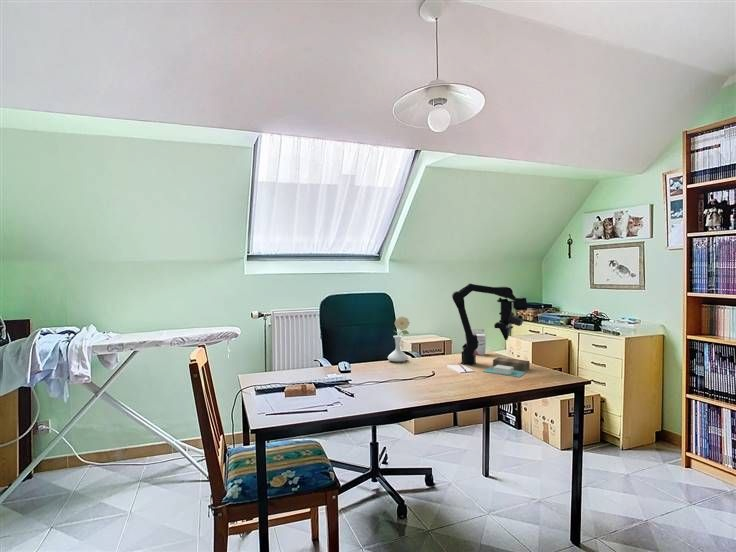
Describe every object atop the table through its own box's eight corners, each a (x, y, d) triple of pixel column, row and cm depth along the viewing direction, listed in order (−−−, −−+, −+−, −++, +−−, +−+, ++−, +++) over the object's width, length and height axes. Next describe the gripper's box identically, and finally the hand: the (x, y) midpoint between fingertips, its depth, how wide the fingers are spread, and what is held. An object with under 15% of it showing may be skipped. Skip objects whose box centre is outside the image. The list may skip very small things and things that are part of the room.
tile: (497, 364, 216) (497, 369, 216) (493, 367, 211) (493, 372, 211) (513, 366, 211) (513, 372, 211) (509, 369, 206) (509, 374, 206)
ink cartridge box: (470, 354, 251) (470, 329, 251) (469, 353, 256) (469, 328, 256) (485, 355, 250) (485, 330, 250) (484, 353, 255) (484, 328, 255)
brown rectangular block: (493, 367, 221) (493, 359, 221) (498, 364, 228) (498, 357, 227) (524, 372, 212) (524, 364, 211) (529, 368, 218) (529, 360, 218)
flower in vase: (383, 361, 236) (383, 316, 236) (393, 357, 246) (393, 314, 245) (405, 364, 230) (404, 318, 229) (414, 360, 239) (414, 315, 238)
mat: (482, 371, 213) (482, 371, 213) (491, 367, 222) (491, 366, 222) (519, 377, 202) (519, 376, 202) (526, 372, 211) (526, 371, 211)
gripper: (515, 313, 215) (515, 344, 215) (527, 309, 229) (527, 338, 230) (493, 312, 221) (493, 342, 222) (506, 308, 236) (506, 336, 237)
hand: (506, 339), depth 227 cm, fingers closed
